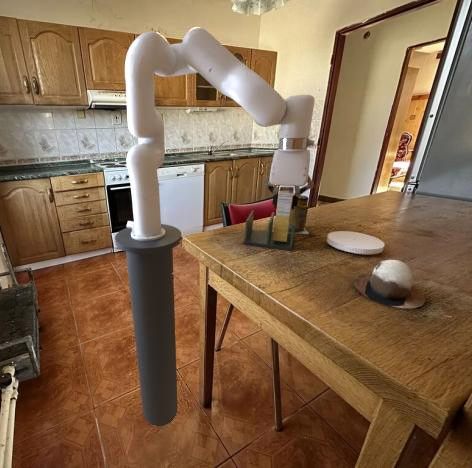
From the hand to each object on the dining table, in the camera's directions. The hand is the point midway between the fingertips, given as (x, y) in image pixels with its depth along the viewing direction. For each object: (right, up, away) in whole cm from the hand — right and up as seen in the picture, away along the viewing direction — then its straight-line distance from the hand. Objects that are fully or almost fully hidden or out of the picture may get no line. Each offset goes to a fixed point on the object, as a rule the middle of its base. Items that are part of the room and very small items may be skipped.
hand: (284, 207), depth 79 cm
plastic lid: (+20, -13, -1) cm, 24 cm away
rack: (-2, -10, +6) cm, 12 cm away
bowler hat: (+12, -21, -22) cm, 33 cm away
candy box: (0, -9, +4) cm, 10 cm away
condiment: (+10, -7, +14) cm, 18 cm away
